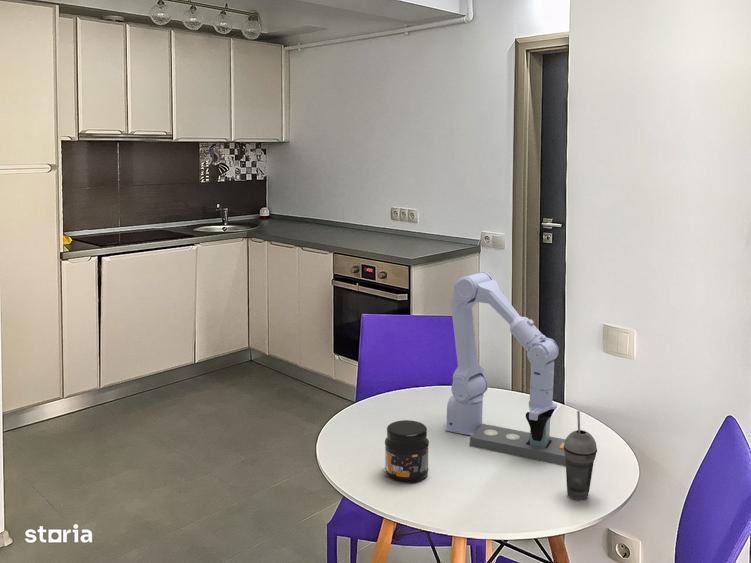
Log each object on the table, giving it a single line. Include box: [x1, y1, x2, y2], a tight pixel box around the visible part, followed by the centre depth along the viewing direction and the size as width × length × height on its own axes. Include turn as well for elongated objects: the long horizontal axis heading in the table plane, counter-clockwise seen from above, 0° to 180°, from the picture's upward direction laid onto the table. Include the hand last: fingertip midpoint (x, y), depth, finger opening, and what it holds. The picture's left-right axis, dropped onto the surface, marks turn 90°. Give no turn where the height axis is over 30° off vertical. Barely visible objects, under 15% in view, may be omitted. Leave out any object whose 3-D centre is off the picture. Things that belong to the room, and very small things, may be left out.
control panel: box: [469, 423, 566, 467], centre depth 186 cm, size 26×10×3 cm, turn 62°
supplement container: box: [384, 419, 430, 484], centre depth 172 cm, size 10×10×12 cm
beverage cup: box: [564, 410, 598, 502], centre depth 160 cm, size 7×7×20 cm
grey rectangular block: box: [529, 417, 551, 448], centre depth 184 cm, size 4×4×7 cm
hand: (539, 437), depth 184 cm, fingers closed on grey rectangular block, 4 cm apart
